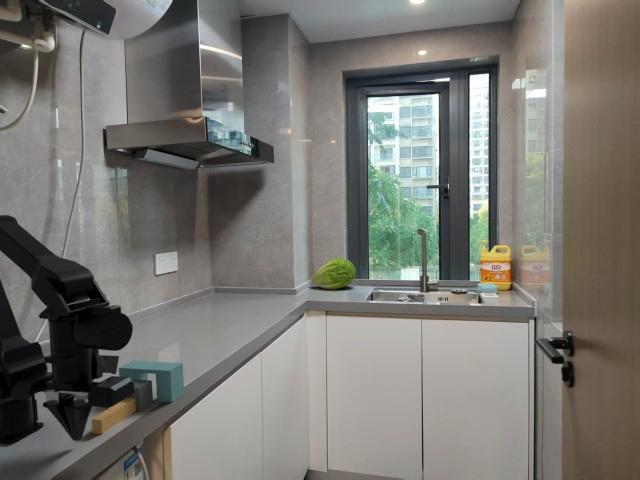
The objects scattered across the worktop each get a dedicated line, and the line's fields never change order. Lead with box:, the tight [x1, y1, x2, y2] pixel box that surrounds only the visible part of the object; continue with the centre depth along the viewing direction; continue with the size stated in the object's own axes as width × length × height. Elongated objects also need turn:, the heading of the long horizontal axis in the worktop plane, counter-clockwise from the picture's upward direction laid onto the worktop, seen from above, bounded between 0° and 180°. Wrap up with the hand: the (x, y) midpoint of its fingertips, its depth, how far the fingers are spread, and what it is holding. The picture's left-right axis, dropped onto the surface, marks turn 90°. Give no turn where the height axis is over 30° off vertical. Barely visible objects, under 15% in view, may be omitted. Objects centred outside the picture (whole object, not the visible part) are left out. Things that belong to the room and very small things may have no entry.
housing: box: [118, 360, 185, 403], centre depth 89 cm, size 4×12×6 cm, turn 77°
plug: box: [91, 379, 154, 435], centre depth 81 cm, size 14×4×4 cm, turn 167°
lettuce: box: [310, 257, 357, 290], centre depth 218 cm, size 15×25×16 cm
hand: (77, 439), depth 70 cm, fingers closed
